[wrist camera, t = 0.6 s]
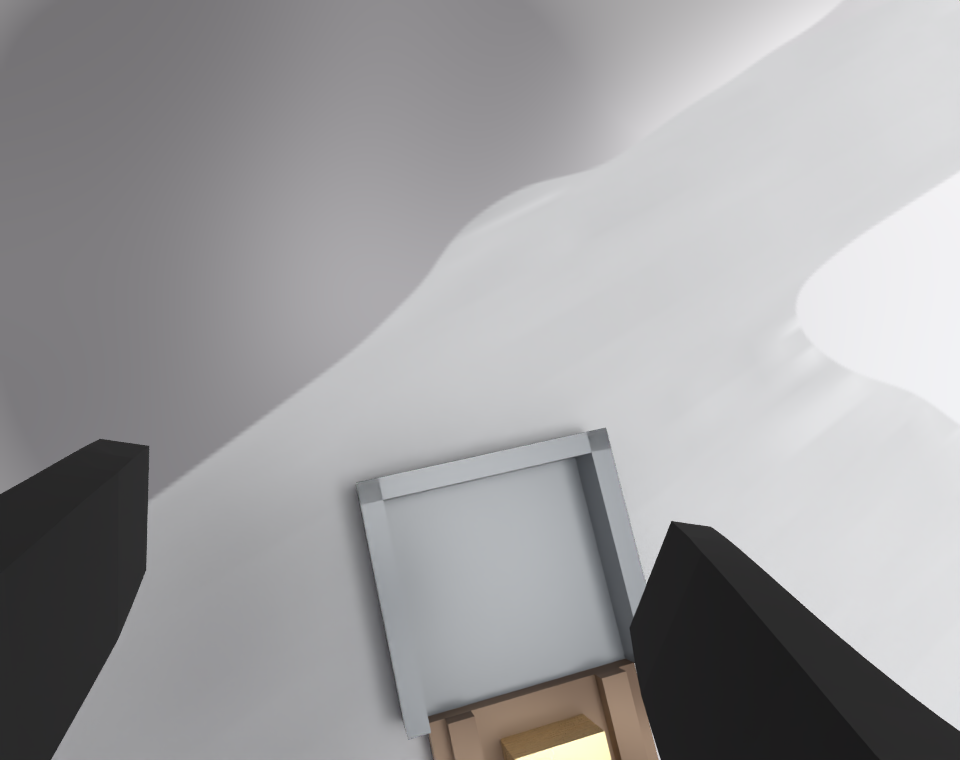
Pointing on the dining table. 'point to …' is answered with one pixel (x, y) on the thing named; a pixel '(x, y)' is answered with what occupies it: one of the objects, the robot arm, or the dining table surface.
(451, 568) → the tray
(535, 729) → the gold square block
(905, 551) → the dining table surface
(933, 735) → the robot arm
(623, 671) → the ridged plate
